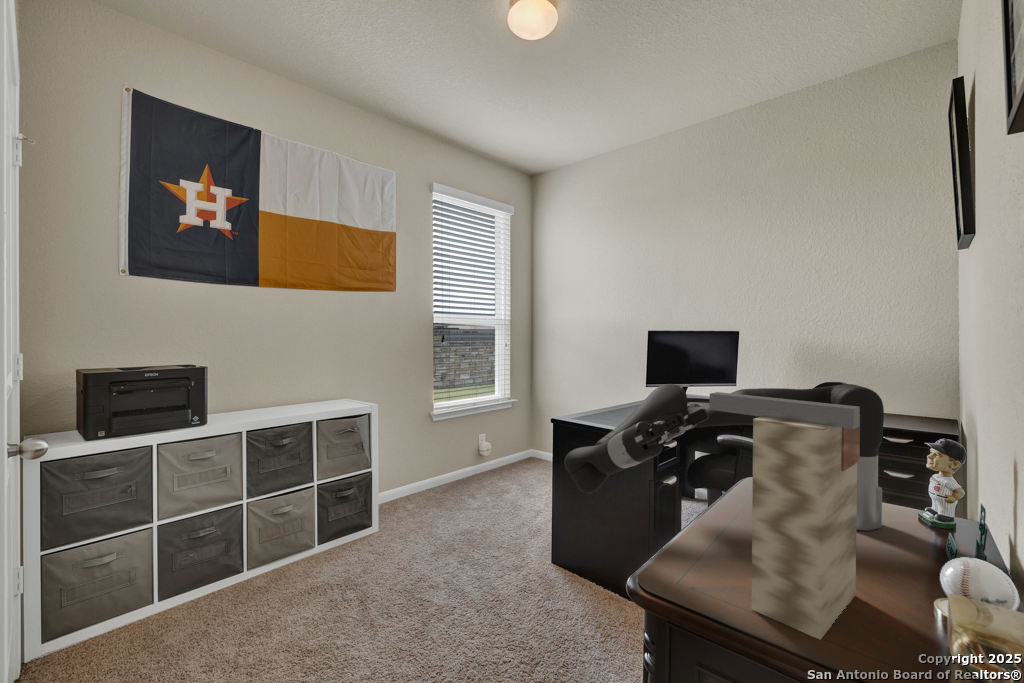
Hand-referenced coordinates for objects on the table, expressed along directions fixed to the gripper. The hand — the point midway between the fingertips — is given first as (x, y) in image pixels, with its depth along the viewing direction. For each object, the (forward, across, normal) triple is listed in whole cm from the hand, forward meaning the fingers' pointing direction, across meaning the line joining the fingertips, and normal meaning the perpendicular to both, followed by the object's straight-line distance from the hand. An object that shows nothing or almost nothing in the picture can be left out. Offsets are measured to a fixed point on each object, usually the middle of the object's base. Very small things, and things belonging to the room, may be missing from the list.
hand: (695, 415), depth 88 cm
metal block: (+13, -1, -6) cm, 14 cm away
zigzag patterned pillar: (-1, -6, -35) cm, 35 cm away
